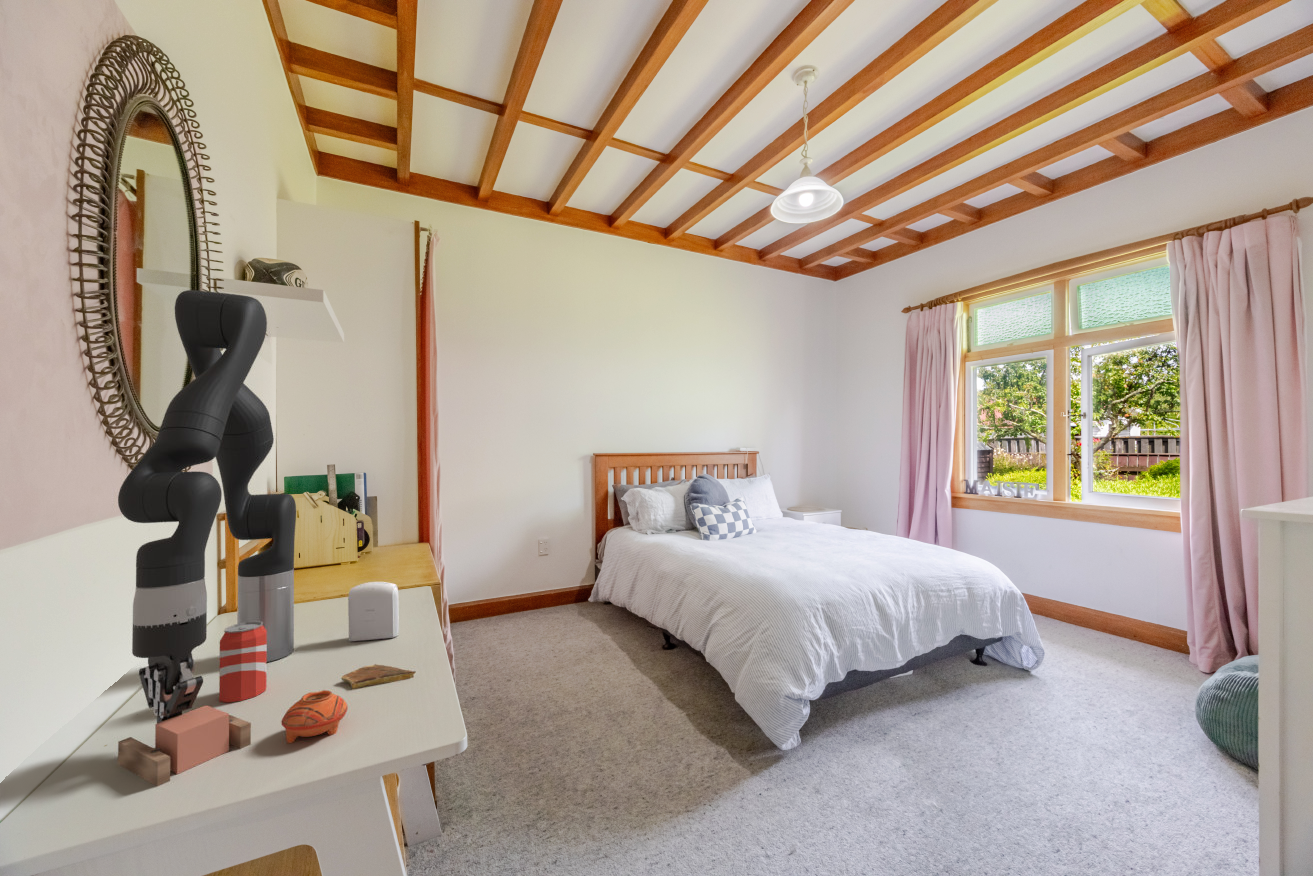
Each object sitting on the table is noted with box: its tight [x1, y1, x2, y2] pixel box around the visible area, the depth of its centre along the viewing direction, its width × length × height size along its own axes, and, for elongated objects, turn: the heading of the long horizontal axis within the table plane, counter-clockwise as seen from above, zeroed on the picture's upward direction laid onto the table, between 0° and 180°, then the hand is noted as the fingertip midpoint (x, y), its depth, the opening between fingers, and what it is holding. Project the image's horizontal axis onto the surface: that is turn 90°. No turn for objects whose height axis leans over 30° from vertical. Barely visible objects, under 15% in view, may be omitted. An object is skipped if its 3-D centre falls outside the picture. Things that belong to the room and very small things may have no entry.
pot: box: [280, 689, 349, 744], centre depth 74 cm, size 8×8×7 cm
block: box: [154, 705, 230, 775], centre depth 69 cm, size 6×6×5 cm
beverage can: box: [218, 621, 268, 703], centre depth 87 cm, size 6×6×12 cm
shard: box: [340, 663, 416, 690], centre depth 92 cm, size 11×8×2 cm
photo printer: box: [347, 581, 400, 642], centre depth 115 cm, size 10×4×12 cm, turn 99°
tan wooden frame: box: [117, 714, 252, 788], centre depth 68 cm, size 15×10×4 cm, turn 64°
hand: (169, 740), depth 71 cm, fingers closed
